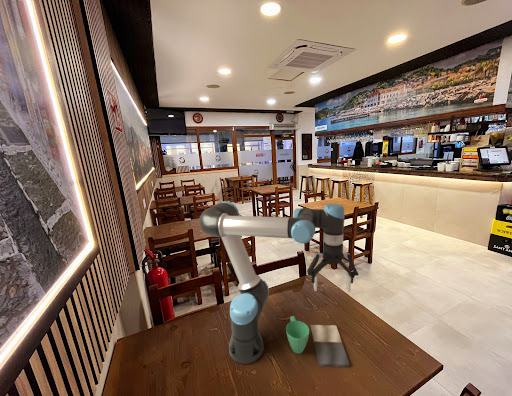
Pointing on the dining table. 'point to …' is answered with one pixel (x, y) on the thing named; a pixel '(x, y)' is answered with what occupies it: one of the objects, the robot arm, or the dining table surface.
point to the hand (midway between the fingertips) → (331, 289)
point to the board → (329, 346)
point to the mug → (297, 334)
